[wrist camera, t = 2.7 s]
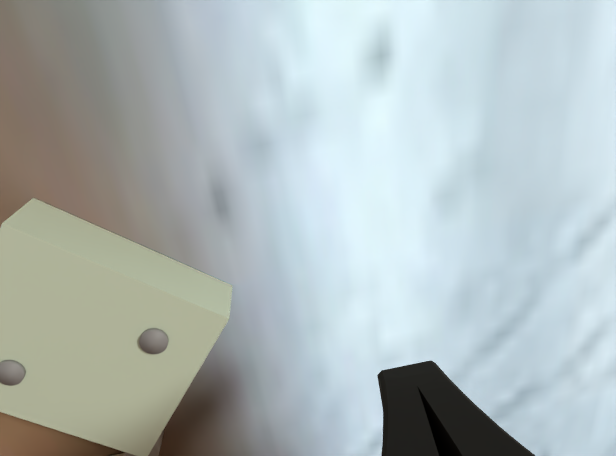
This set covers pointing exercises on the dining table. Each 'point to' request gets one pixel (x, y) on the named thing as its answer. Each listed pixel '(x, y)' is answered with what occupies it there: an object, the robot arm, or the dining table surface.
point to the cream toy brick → (99, 329)
